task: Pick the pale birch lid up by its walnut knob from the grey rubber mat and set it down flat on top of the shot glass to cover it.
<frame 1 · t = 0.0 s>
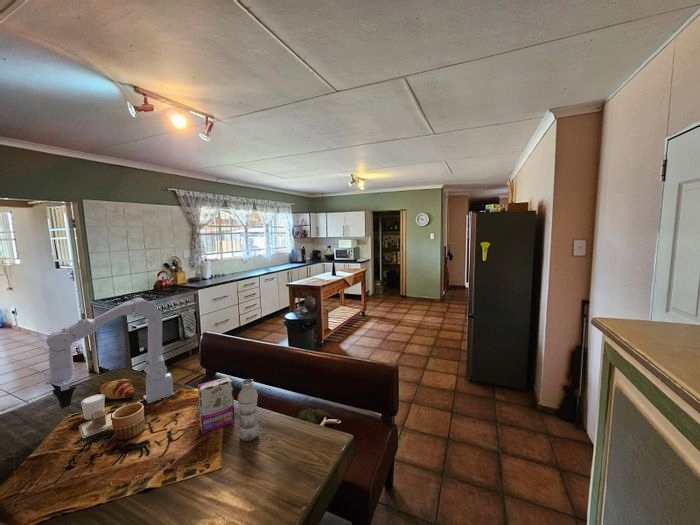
hand: (64, 402, 101), 10 cm above the table, tool pointing down, fingers open, 7 cm apart
lid: (99, 425, 104), resting on mat
mat: (99, 426, 104), on the table
plastic bottle: (249, 437, 98), on the table
croissant: (118, 394, 126), on the table
candy bar box: (217, 425, 105), on the table
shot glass: (94, 416, 110), on the table
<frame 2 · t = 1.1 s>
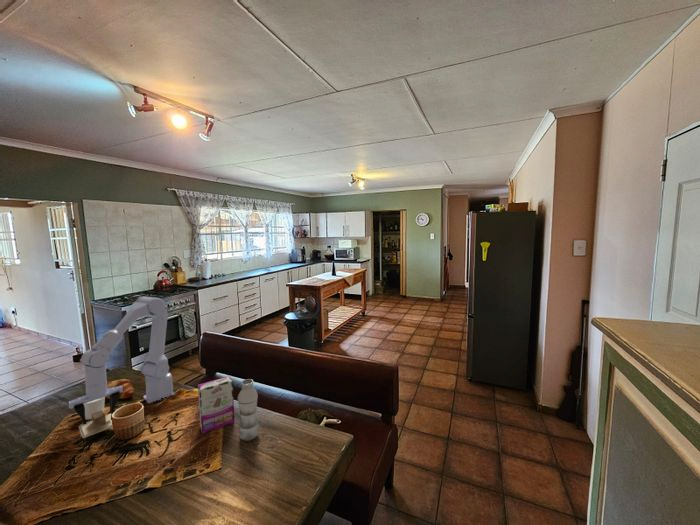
hand: (98, 418, 104), 3 cm above the table, tool pointing down, fingers open, 7 cm apart
nothing on the table moved.
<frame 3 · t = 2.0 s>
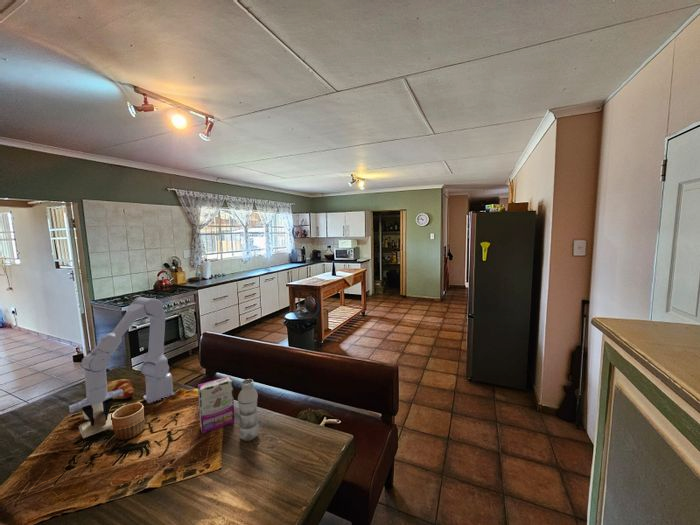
hand: (99, 421, 104), 2 cm above the table, tool pointing down, fingers closed on lid, 3 cm apart
lid: (99, 425, 104), resting on mat, touching gripper
everything else where it was.
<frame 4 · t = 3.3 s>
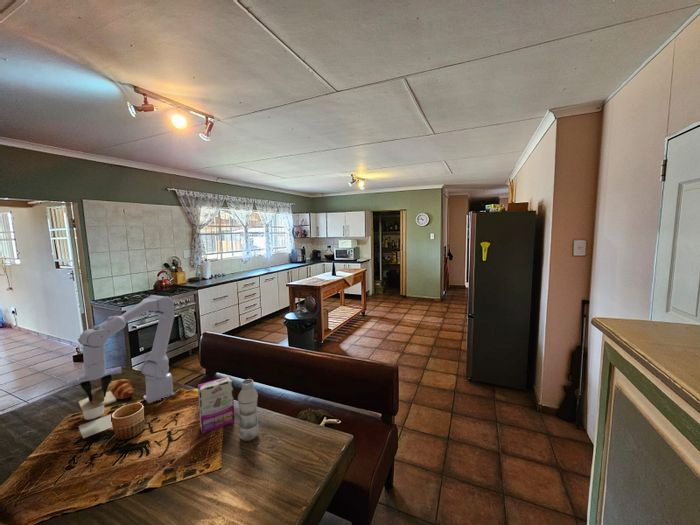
hand: (97, 398, 104), 10 cm above the table, tool pointing down, fingers closed on lid, 3 cm apart
lid: (97, 401, 104), point 9 cm above the table, touching gripper
everything else where it was.
when the fingers open (9 cm above the table, at t = 4.6 s): lid drops 1 cm, resting on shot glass.
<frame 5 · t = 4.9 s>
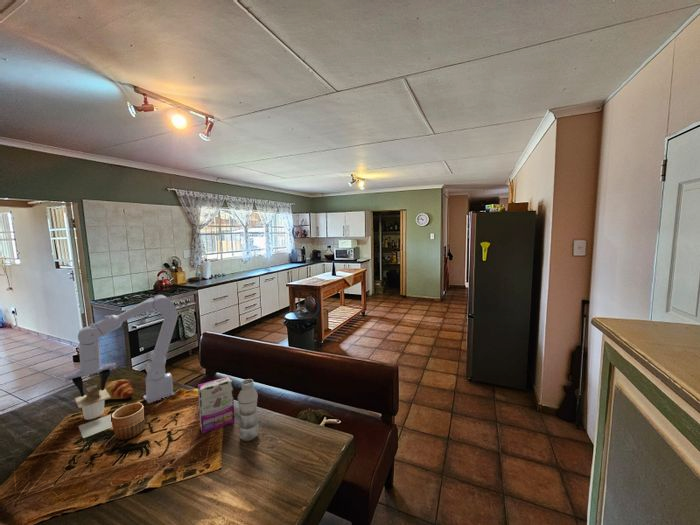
hand: (92, 392, 109), 9 cm above the table, tool pointing down, fingers open, 5 cm apart
lid: (93, 398, 109), point 7 cm above the table, touching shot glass
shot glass: (94, 416, 110), on the table, touching lid
everything else where it was.
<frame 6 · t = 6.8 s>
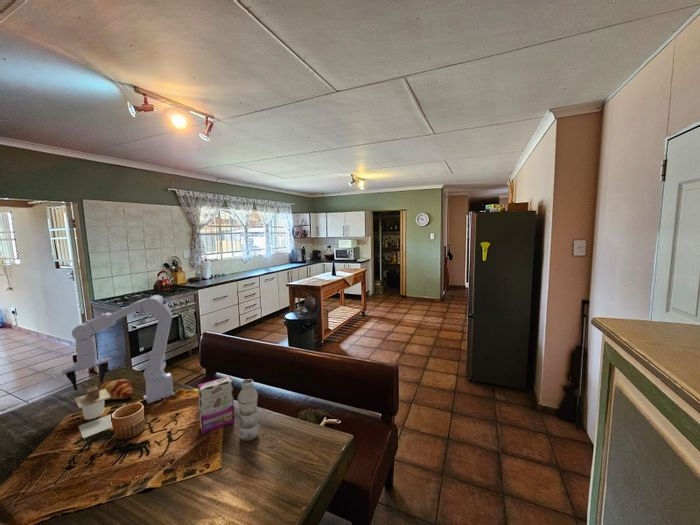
hand: (88, 385, 115), 9 cm above the table, tool pointing down, fingers open, 7 cm apart
nothing on the table moved.
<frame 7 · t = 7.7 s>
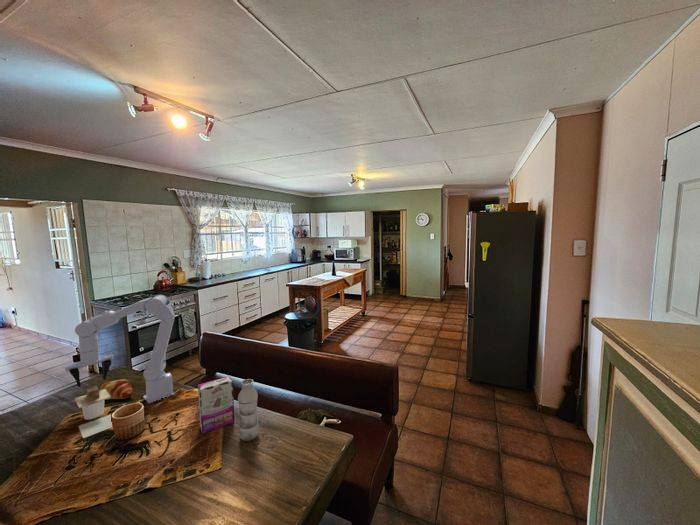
hand: (91, 382, 115), 10 cm above the table, tool pointing down, fingers open, 7 cm apart
nothing on the table moved.
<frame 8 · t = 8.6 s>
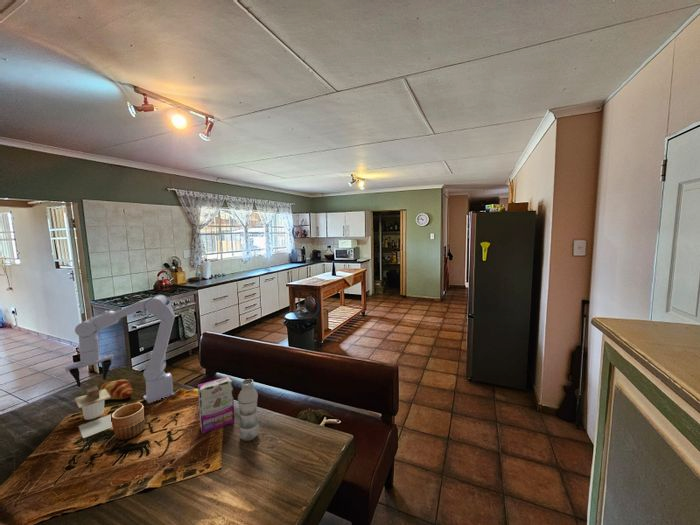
hand: (91, 382, 115), 10 cm above the table, tool pointing down, fingers open, 7 cm apart
nothing on the table moved.
at the end: lid 0.2 cm from the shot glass (horizontally); lid point 7.0 cm above the table; lid tilted 0° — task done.
